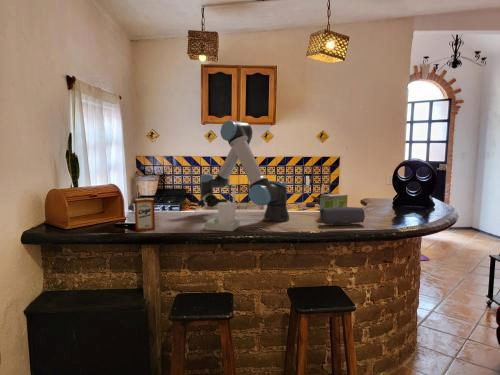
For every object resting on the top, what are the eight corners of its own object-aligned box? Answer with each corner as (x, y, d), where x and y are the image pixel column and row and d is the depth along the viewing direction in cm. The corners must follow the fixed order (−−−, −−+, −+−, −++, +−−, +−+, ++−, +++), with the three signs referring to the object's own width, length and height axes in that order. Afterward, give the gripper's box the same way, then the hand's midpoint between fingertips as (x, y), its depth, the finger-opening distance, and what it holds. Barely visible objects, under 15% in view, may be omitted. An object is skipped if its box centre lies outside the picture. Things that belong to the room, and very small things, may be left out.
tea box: (332, 220, 212) (333, 196, 211) (319, 218, 220) (319, 194, 219) (347, 218, 222) (347, 194, 221) (333, 215, 230) (334, 192, 228)
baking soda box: (135, 230, 183) (134, 199, 181) (135, 228, 189) (134, 198, 187) (154, 229, 185) (154, 199, 184) (154, 227, 192) (153, 197, 190)
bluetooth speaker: (357, 222, 207) (357, 205, 206) (364, 225, 198) (365, 208, 197) (319, 223, 203) (319, 206, 202) (325, 227, 194) (326, 208, 193)
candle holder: (214, 226, 190) (214, 204, 189) (221, 223, 200) (221, 201, 199) (232, 227, 187) (232, 204, 186) (238, 224, 197) (238, 202, 196)
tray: (240, 225, 197) (240, 219, 197) (232, 231, 183) (232, 224, 183) (214, 224, 201) (214, 217, 201) (204, 229, 186) (204, 222, 186)
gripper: (230, 205, 225) (239, 210, 205) (190, 207, 217) (196, 212, 197) (229, 193, 224) (239, 197, 204) (189, 195, 216) (196, 198, 196)
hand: (218, 204), depth 200 cm, fingers open, 13 cm apart
